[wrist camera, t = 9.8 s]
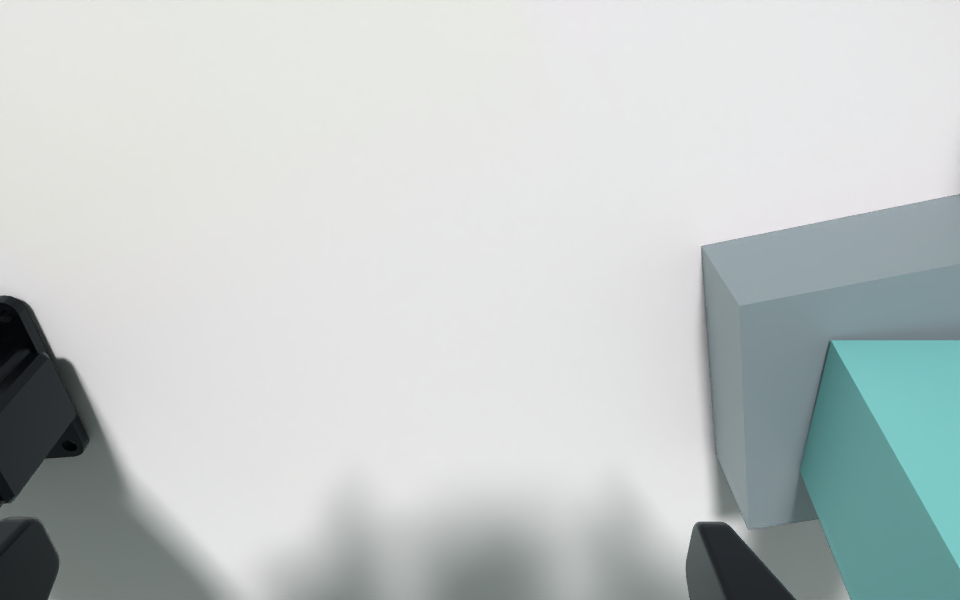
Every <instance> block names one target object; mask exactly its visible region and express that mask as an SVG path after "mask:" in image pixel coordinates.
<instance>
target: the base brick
mask: <svg viewBox="0 0 960 600" xmlns="http://www.w3.org/2000/svg"><path fill="white" fill-rule="evenodd" d="M701 248H702V262H703V276H704V291H705V305H706V319H707V334H708V348H709V362H710V377H711V391H712V405H713V420H714V434H715V448H716V456H717V458H718V460H719V463H720V465H721V467H722V470H723V472H724V474H725V477H726V479H727V481H728V484H729V486H730V488H731V491H732V493H733V495H734V498H735V500H736V502H737V505H738V507H739V509H740V512H741V514H742V516H743V519H744V521H745V523H746V526H747V528H748V530H752V529H758V528H765V527H771V526H777V525H783V524H790V523H796V522H802V521H809V520H815V519H819V518H818V515H817V513H816V510H815V508H814V505H813V503H812V500H811V498H810V495H809V492H808V490H807V487H806V485H805V482H804V480H803V477H802V475H801V472H800V468H801V463H802V459H803V455H804V451H805V447H806V443H807V438H808V434H809V430H810V426H811V422H812V417H813V413H814V409H815V405H816V401H817V396H818V392H819V388H820V384H821V380H822V376H823V371H824V367H825V363H826V359H827V355H828V350H829V346H830V342H831V340H960V194H958V195H953V196H948V197H943V198H938V199H933V200H928V201H923V202H918V203H913V204H908V205H903V206H898V207H893V208H888V209H883V210H878V211H873V212H868V213H863V214H858V215H853V216H848V217H843V218H838V219H833V220H828V221H823V222H819V223H814V224H809V225H804V226H799V227H794V228H789V229H784V230H779V231H774V232H769V233H764V234H759V235H754V236H749V237H744V238H739V239H734V240H729V241H724V242H719V243H714V244H709V245H704V246H701Z"/></svg>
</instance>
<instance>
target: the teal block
mask: <svg viewBox="0 0 960 600" xmlns="http://www.w3.org/2000/svg"><path fill="white" fill-rule="evenodd" d="M800 472H801V475H802V477H803V480H804V482H805V485H806V487H807V490H808V492H809V495H810V498H811V500H812V503H813V505H814V508H815V510H816V513H817V515H818V518H819V520H820V523H821V525H822V528H823V530H824V533H825V536H826V538H827V541H828V543H829V546H830V548H831V551H832V553H833V556H834V558H835V561H836V563H837V566H838V569H839V571H840V574H841V576H842V579H843V581H844V584H845V586H846V589H847V591H848V594H849V596H850V599H851V600H960V340H831V342H830V346H829V350H828V355H827V359H826V363H825V367H824V371H823V376H822V380H821V384H820V388H819V392H818V396H817V401H816V405H815V409H814V413H813V417H812V422H811V426H810V430H809V434H808V438H807V443H806V447H805V451H804V455H803V459H802V463H801V468H800Z"/></svg>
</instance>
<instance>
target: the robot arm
mask: <svg viewBox="0 0 960 600" xmlns="http://www.w3.org/2000/svg"><path fill="white" fill-rule="evenodd" d="M3 309H5V310H7V311H9V313H10V314H11V315H8V314H6V313H5V312H4V311H3ZM70 441H72V442H74V443H72V442H70ZM88 443H89V438H88V436H87V434H86V432H85V429H84V427H83V425H82V423H81V421H80V419H79V417H78V415H77V413H76V411H75V408H74V406H73V404H72V402H71V400H70V398H69V396H68V394H67V392H66V390H65V388H64V386H63V384H62V382H61V379H60V377H59V375H58V373H57V371H56V369H55V367H54V365H53V363H52V361H51V359H50V357H49V355H48V353H47V351H46V349H45V347H44V345H43V343H42V340H41V338H40V336H39V334H38V332H37V330H36V328H35V326H34V324H33V322H32V320H31V318H30V316H29V314H28V311H27V309H26V307H25V306H24V305H23V303H22V302H20V301H19V300H18V299H16V298H14V297H11V296H0V507H1V505H2V504H6V503H11V502H13V501H14V500H15V498H16V497H17V496H18V494H19V493H20V491H21V490H22V489H23V487H24V486H25V485H26V483H27V482H28V481H29V479H30V478H31V476H32V475H33V474H34V472H35V471H36V470H37V468H38V467H39V466H40V464H41V463H42V461H43V460H44V459H46V458H59V457H73V456H78V455H80V454H82V453H83V451H84V450H85V449H86V447H87V446H88ZM58 569H59V555H58V553H57V551H56V549H55V547H54V545H53V543H52V541H51V539H50V537H49V535H48V533H47V531H46V529H45V527H44V525H43V523H42V522H41V521H40V520H39V519H37V518H35V517H9V518H5V519H3V520H1V521H0V600H48V598H49V595H50V592H51V590H52V587H53V584H54V582H55V579H56V576H57V573H58ZM686 578H687V585H688V591H689V597H690V600H796V599H795V598H794V597H793V596H792V595H791V594H790V592H789V591H788V590H787V589H786V588H785V587H784V586H783V585H782V584H781V582H780V581H779V580H778V579H777V578H776V577H775V576H774V575H773V573H772V572H771V571H770V570H769V569H768V568H767V567H766V566H765V565H764V563H763V562H762V561H761V560H760V559H759V558H758V557H757V556H756V555H755V553H754V552H753V551H752V550H751V549H750V548H749V547H748V546H747V545H746V543H745V542H744V541H743V540H742V539H741V538H740V537H739V536H738V534H737V533H736V532H735V531H734V530H733V529H732V528H731V527H730V526H729V525H728V524H726V523H724V522H697V523H696V524H695V525H694V527H693V530H692V535H691V540H690V545H689V550H688V554H687V559H686Z"/></svg>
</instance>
